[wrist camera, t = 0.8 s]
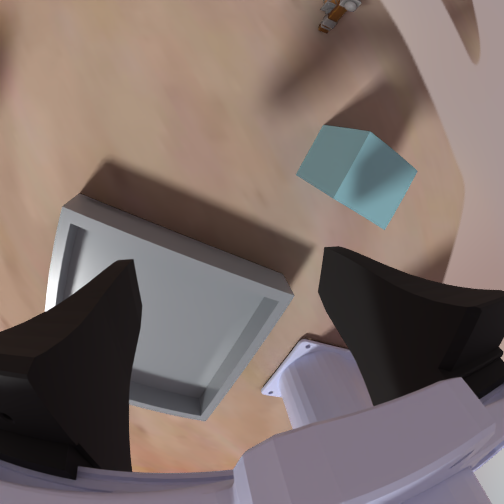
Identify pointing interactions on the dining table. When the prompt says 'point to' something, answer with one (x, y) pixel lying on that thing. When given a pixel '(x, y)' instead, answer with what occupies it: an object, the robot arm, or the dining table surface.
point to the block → (358, 172)
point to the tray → (172, 303)
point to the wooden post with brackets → (336, 12)
